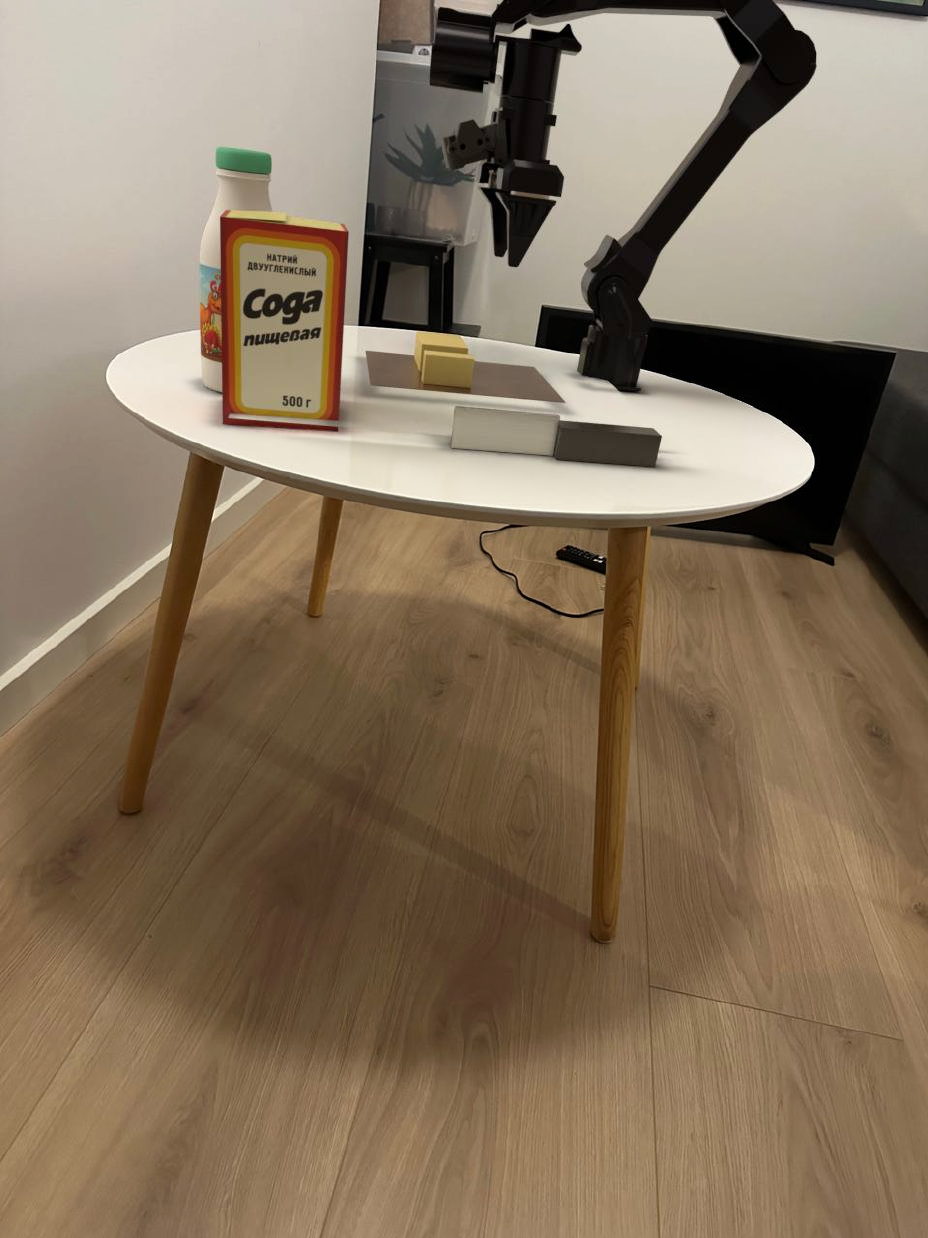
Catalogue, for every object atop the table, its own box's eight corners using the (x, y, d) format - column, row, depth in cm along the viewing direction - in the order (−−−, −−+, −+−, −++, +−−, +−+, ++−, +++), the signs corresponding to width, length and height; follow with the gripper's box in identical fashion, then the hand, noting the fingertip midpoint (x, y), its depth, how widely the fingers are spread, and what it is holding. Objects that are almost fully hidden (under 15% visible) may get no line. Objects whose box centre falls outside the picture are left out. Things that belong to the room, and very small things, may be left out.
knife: (646, 458, 77) (655, 420, 75) (655, 467, 75) (664, 427, 73) (448, 442, 74) (453, 402, 72) (452, 451, 72) (457, 410, 70)
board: (533, 375, 102) (534, 366, 101) (564, 412, 88) (566, 402, 87) (364, 359, 98) (365, 350, 98) (369, 395, 84) (370, 384, 84)
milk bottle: (193, 376, 83) (187, 140, 73) (272, 376, 86) (275, 152, 77) (212, 398, 77) (207, 145, 67) (295, 397, 80) (302, 157, 71)
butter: (457, 361, 98) (460, 335, 97) (465, 376, 92) (468, 347, 91) (414, 357, 97) (416, 330, 96) (419, 372, 91) (422, 343, 90)
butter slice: (468, 384, 89) (472, 354, 88) (471, 388, 88) (474, 358, 86) (421, 379, 88) (424, 350, 87) (422, 383, 87) (425, 353, 86)
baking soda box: (335, 410, 78) (344, 218, 71) (338, 431, 73) (349, 226, 65) (227, 402, 76) (225, 204, 69) (222, 423, 71) (219, 210, 63)
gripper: (440, 93, 95) (426, 244, 103) (462, 83, 79) (443, 263, 87) (537, 107, 97) (516, 255, 105) (577, 101, 81) (550, 275, 88)
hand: (505, 261), depth 96 cm, fingers open, 9 cm apart
